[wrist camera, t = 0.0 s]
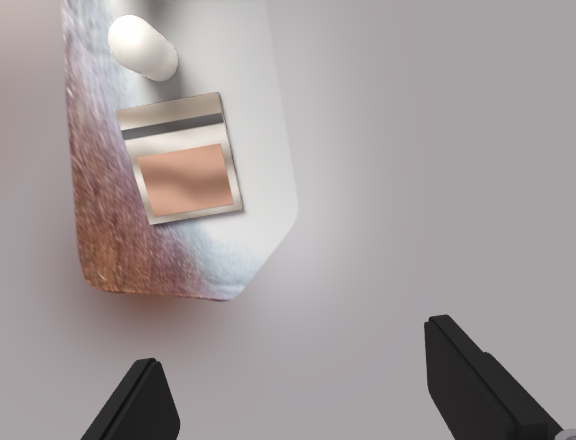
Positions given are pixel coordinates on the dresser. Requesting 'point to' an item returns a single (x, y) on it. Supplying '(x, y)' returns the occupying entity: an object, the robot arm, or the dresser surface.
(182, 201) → the board
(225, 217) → the dresser surface
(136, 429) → the robot arm
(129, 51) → the white rounded cylinder
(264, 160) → the dresser surface
